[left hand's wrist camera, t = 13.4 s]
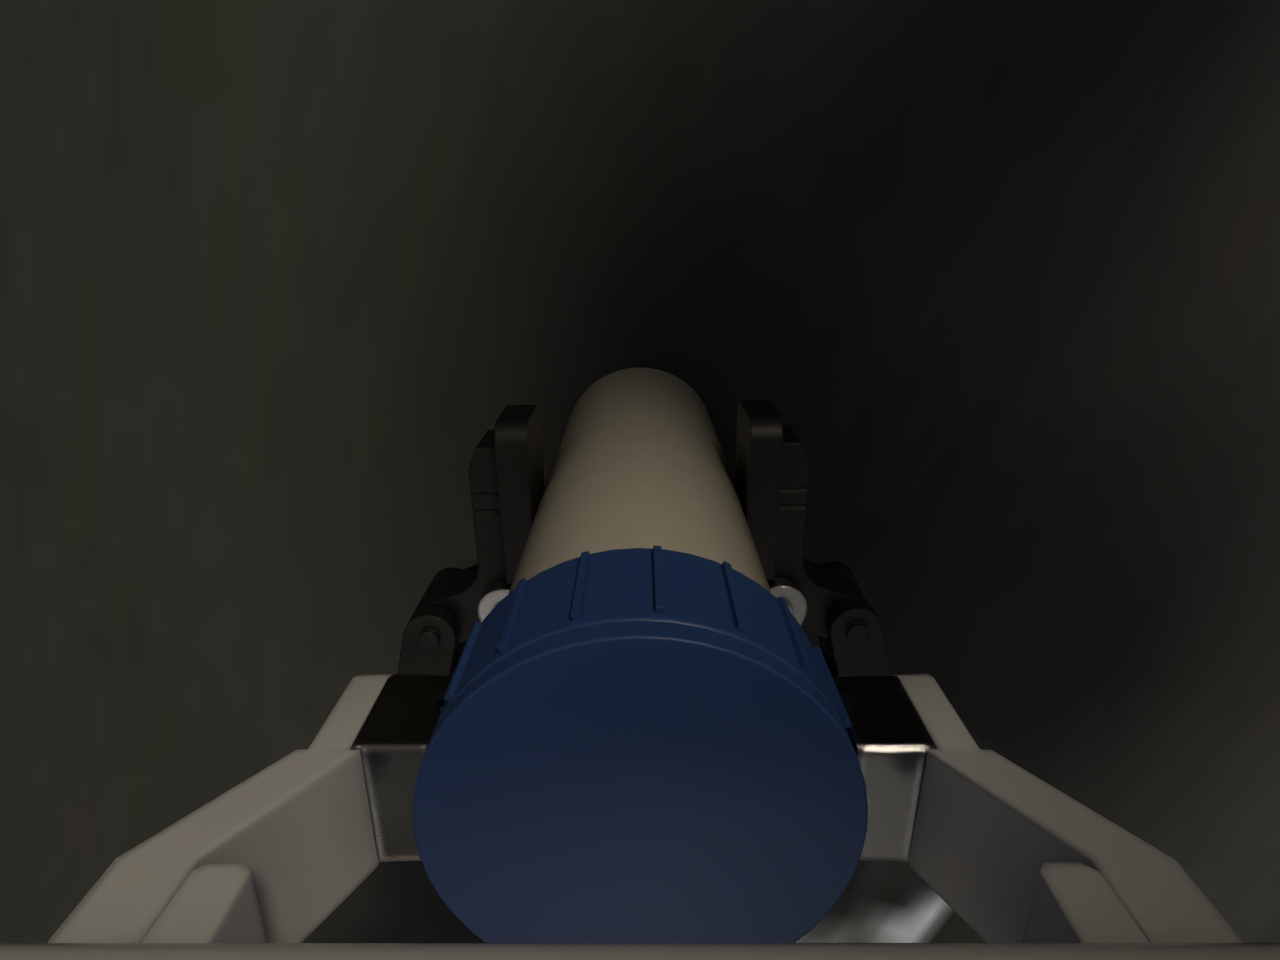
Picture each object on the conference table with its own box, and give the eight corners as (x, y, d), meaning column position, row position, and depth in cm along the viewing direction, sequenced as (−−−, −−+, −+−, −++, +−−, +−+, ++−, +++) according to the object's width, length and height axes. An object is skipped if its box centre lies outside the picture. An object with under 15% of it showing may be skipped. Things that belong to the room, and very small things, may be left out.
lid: (488, 499, 9) (445, 580, 7) (885, 594, 10) (950, 696, 8) (423, 815, 11) (375, 950, 9) (761, 881, 12) (788, 1025, 10)
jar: (585, 350, 22) (485, 597, 8) (732, 388, 23) (891, 688, 8) (552, 489, 24) (420, 904, 9) (690, 522, 24) (763, 969, 10)
